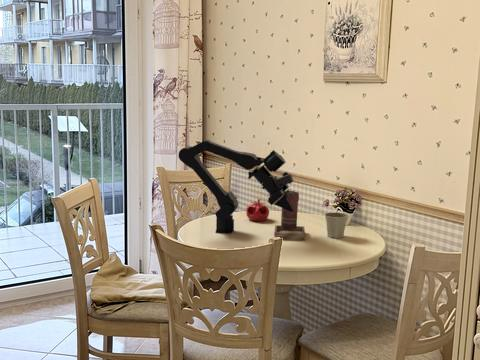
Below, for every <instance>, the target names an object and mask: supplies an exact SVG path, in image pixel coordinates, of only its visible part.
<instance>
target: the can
mask: <svg viewBox="0 0 480 360" xmlns="http://www.w3.org/2000/svg"><path fill="white" fill-rule="evenodd" d="M285 193H286V199H287V201H288V203H289V204H290V206H291V207H292V209H293V211H292V212H291V211H288V210H286V209H284V208H281V216H280V217H281V221H280V225H281V226H282V228H286V229H294V228H296V227H297V226H298V210H299V209H298V208H299V200H300V193H299V192H298V191H296V190H295V191H294V190H289V191H287V190H286V191H284V194H285Z"/></svg>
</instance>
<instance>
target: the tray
mask: <svg viewBox="0 0 480 360" xmlns="http://www.w3.org/2000/svg"><path fill="white" fill-rule="evenodd" d="M273 237H280V238H283V239H282V240H283V241H285V240H286V241H287V240H288V241H306V238H305V237H306V231H305V226H304V225H303V226H301V225H297V227H296V228H294V229H286V228H282V226H281V224H280V225H279V224H278V225H277V224H275V226H274V234H273Z"/></svg>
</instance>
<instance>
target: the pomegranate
mask: <svg viewBox="0 0 480 360" xmlns="http://www.w3.org/2000/svg"><path fill="white" fill-rule="evenodd" d="M264 204H265V205H264ZM266 204H267V203H266V202H262V201H261V198H257V201H256V200H254V201H253V202H251V203H250V204H249V205H247V207H246V210H245V212H246V217H247V218H248V220H250V221H252V222H263V221H267V220H268V218H269V215H270V209H269V207H267V205H266Z"/></svg>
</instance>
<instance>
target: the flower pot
mask: <svg viewBox="0 0 480 360" xmlns="http://www.w3.org/2000/svg"><path fill="white" fill-rule="evenodd" d="M323 216H324V217H325V221H326V222H325V223H326V235H327V237H329V238H332V239H333V238H335V239H342V238H343V237H344V234H345V230H346V225H347V221H348V218H349V214H347V213H342V212H335V211H333V212H332V211H331V212H325V213H324V215H323Z"/></svg>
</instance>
